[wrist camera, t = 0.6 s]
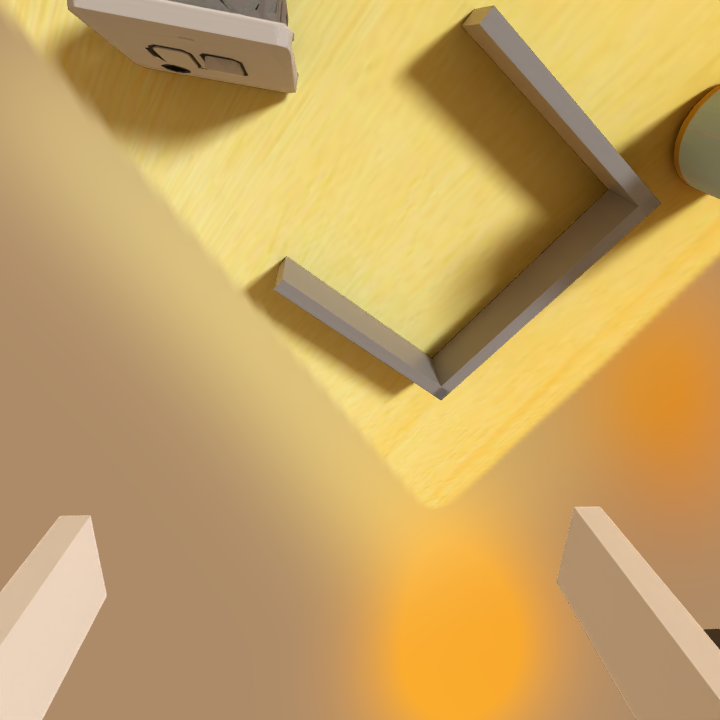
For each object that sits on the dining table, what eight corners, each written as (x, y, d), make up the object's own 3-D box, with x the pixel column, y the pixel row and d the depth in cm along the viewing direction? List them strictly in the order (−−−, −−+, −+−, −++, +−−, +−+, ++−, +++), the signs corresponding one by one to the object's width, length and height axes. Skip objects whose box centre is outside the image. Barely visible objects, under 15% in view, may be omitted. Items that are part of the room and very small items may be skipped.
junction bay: (474, 9, 28) (493, 5, 24) (628, 187, 34) (661, 203, 30) (278, 266, 36) (273, 289, 32) (432, 371, 42) (441, 400, 39)
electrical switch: (138, 66, 28) (65, 54, 20) (133, -44, 26) (47, -109, 18) (297, 94, 30) (288, 93, 21) (306, -9, 27) (299, -54, 19)
